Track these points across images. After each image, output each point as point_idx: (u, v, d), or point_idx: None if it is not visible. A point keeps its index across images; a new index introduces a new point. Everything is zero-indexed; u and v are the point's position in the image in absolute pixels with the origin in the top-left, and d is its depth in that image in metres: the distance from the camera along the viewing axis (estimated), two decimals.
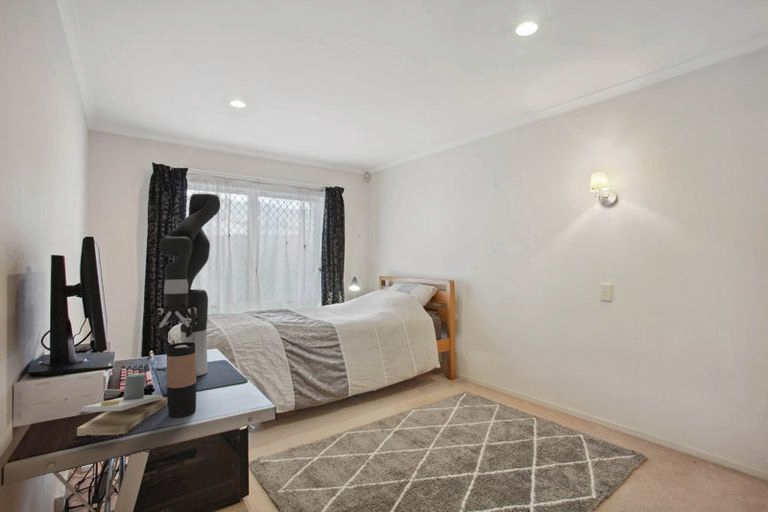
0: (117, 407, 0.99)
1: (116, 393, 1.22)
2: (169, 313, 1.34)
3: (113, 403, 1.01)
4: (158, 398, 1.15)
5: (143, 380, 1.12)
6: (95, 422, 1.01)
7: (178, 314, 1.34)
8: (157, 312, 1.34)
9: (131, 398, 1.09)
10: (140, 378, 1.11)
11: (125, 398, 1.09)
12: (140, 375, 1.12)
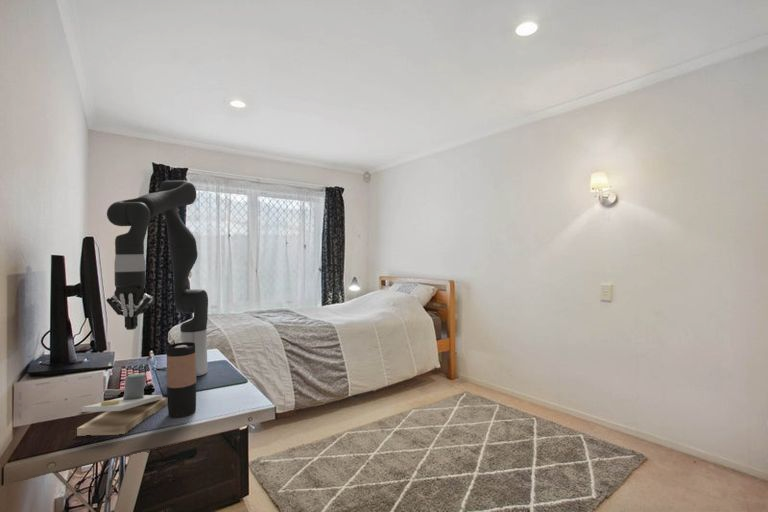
0: (117, 407, 0.99)
1: (116, 393, 1.22)
2: (121, 296, 1.09)
3: (113, 403, 1.01)
4: (158, 398, 1.15)
5: (143, 380, 1.12)
6: (95, 422, 1.01)
7: (130, 298, 1.09)
8: (110, 301, 1.09)
9: (131, 398, 1.09)
10: (140, 378, 1.11)
11: (125, 398, 1.09)
12: (140, 375, 1.12)
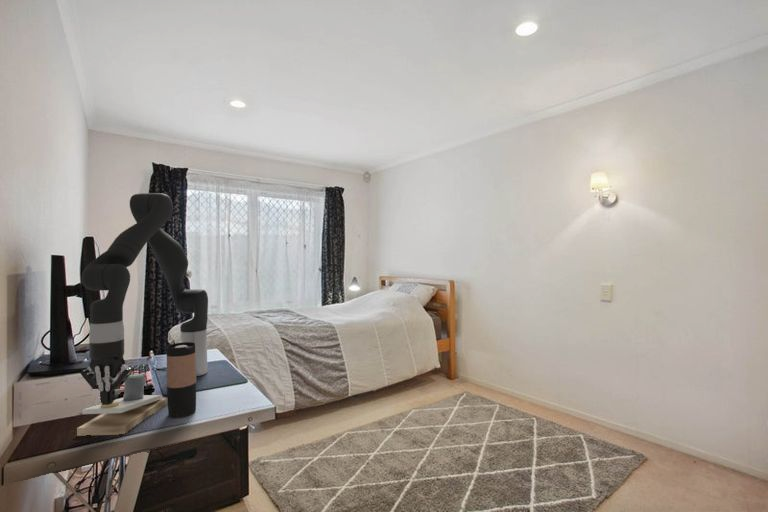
0: (117, 409, 0.98)
1: (116, 393, 1.22)
2: (97, 369, 0.99)
3: (113, 405, 1.00)
4: (158, 398, 1.15)
5: (143, 381, 1.12)
6: (95, 422, 1.01)
7: (107, 370, 0.99)
8: (85, 374, 0.99)
9: (131, 399, 1.09)
10: (139, 379, 1.11)
11: (125, 399, 1.09)
12: (139, 376, 1.12)
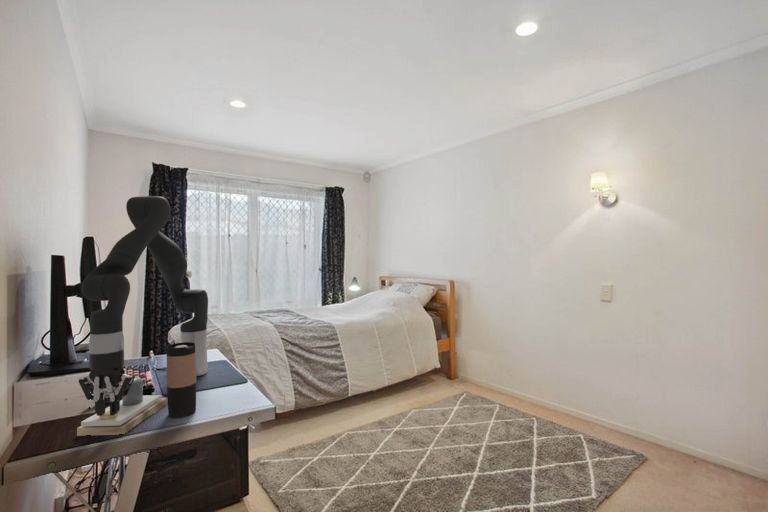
0: (116, 422, 0.98)
1: None
2: (96, 379, 0.99)
3: (111, 416, 1.00)
4: (158, 399, 1.15)
5: (140, 385, 1.11)
6: None
7: (107, 381, 0.99)
8: (82, 382, 0.99)
9: (130, 404, 1.09)
10: (137, 384, 1.10)
11: (124, 404, 1.09)
12: (137, 381, 1.10)
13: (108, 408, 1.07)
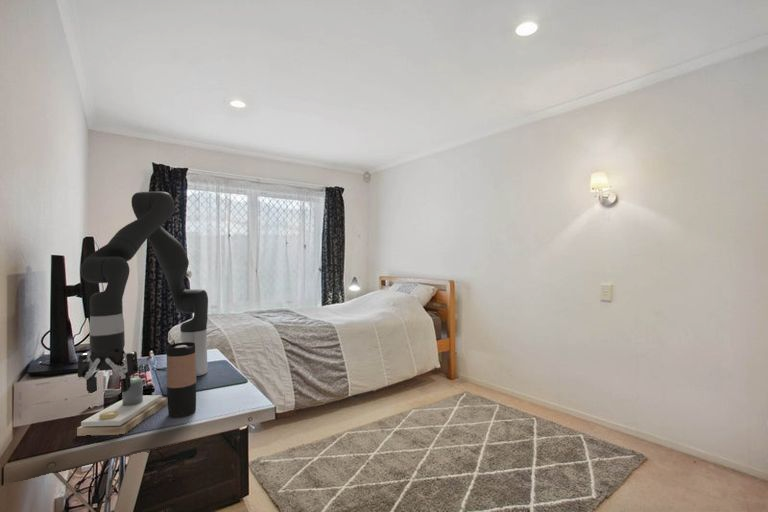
0: (116, 422, 0.98)
1: (116, 393, 1.23)
2: (97, 361, 0.99)
3: (111, 416, 1.00)
4: (158, 399, 1.15)
5: (140, 385, 1.11)
6: None
7: (109, 362, 0.99)
8: (81, 359, 1.00)
9: (130, 404, 1.09)
10: (137, 384, 1.10)
11: (124, 404, 1.09)
12: (137, 381, 1.10)
13: (108, 408, 1.07)
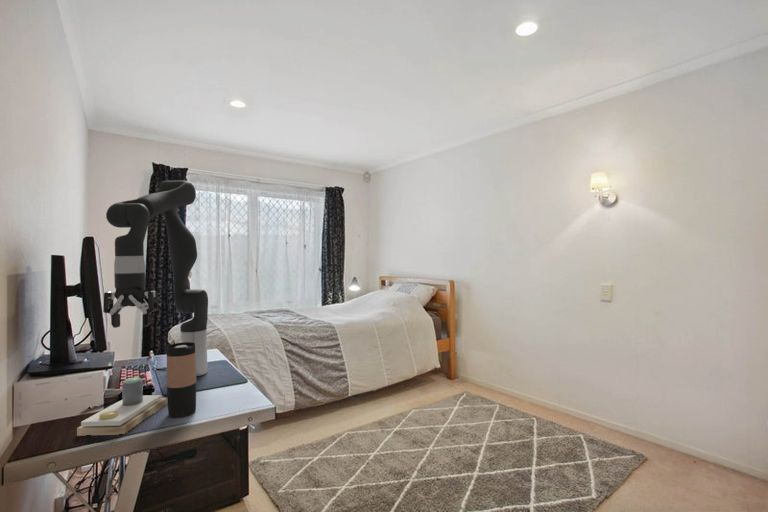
0: (116, 422, 0.98)
1: (116, 393, 1.23)
2: (121, 297, 1.09)
3: (111, 416, 1.00)
4: (158, 399, 1.15)
5: (140, 385, 1.11)
6: None
7: (132, 298, 1.09)
8: (106, 296, 1.09)
9: (130, 404, 1.09)
10: (137, 384, 1.10)
11: (124, 404, 1.09)
12: (137, 381, 1.10)
13: (108, 408, 1.07)
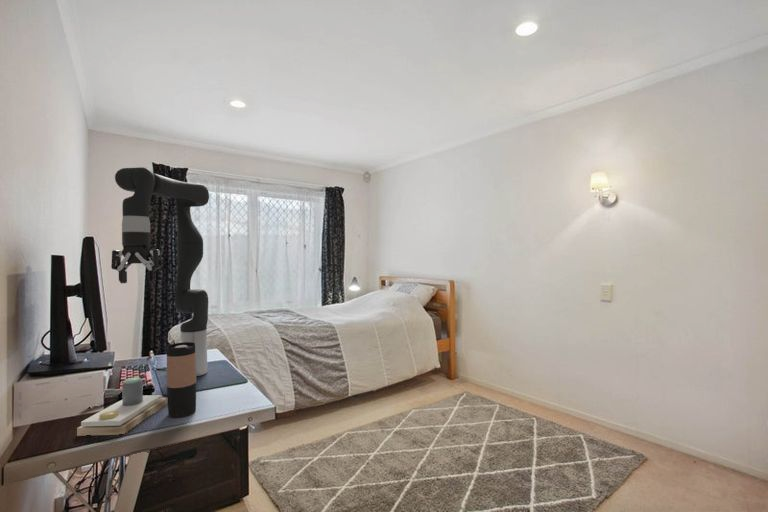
0: (116, 422, 0.98)
1: (116, 393, 1.23)
2: (128, 254, 1.17)
3: (111, 416, 1.00)
4: (158, 399, 1.15)
5: (140, 385, 1.11)
6: None
7: (138, 256, 1.17)
8: (114, 254, 1.17)
9: (130, 404, 1.09)
10: (137, 384, 1.10)
11: (124, 404, 1.09)
12: (137, 381, 1.10)
13: (108, 408, 1.07)
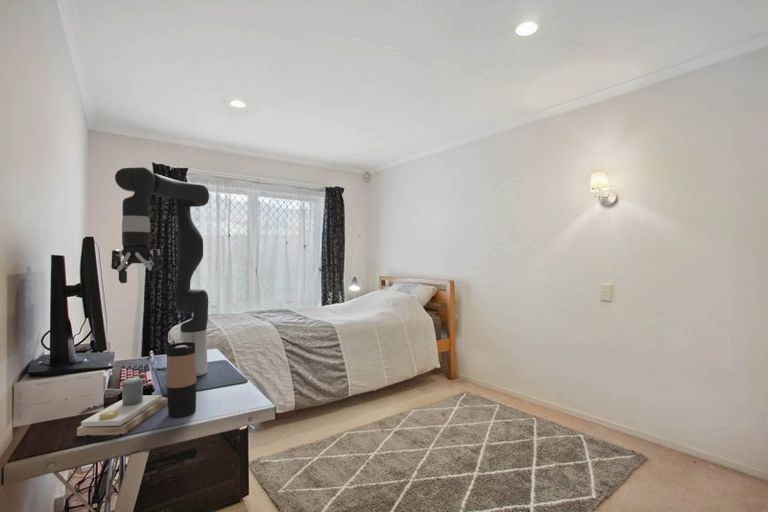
0: (116, 422, 0.98)
1: (116, 393, 1.23)
2: (128, 254, 1.17)
3: (111, 416, 1.00)
4: (158, 399, 1.15)
5: (140, 385, 1.11)
6: None
7: (138, 256, 1.17)
8: (114, 253, 1.18)
9: (130, 404, 1.09)
10: (137, 384, 1.10)
11: (124, 404, 1.09)
12: (137, 381, 1.10)
13: (108, 408, 1.07)
